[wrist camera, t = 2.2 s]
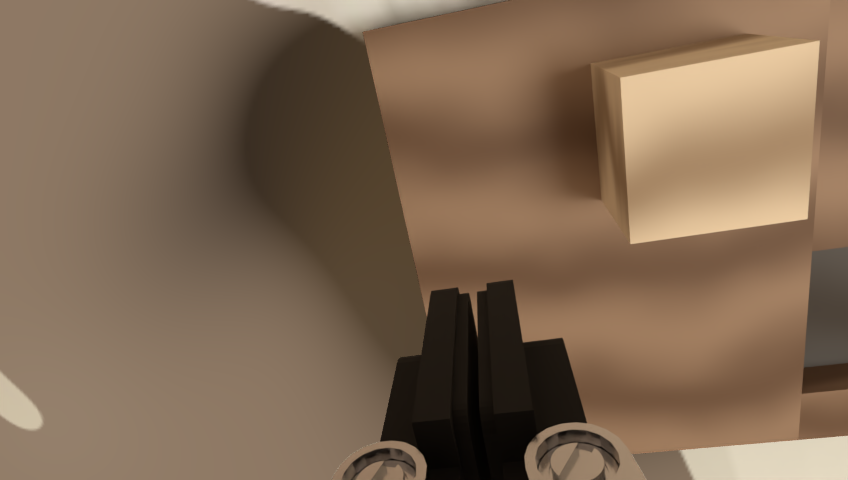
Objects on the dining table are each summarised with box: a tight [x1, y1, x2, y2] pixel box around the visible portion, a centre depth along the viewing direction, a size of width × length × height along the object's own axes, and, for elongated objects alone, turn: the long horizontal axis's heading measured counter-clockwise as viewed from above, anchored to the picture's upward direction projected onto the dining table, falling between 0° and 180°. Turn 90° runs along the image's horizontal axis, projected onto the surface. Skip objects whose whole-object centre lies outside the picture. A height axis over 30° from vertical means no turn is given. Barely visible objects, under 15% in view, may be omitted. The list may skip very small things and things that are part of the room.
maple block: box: [590, 34, 820, 244], centre depth 21 cm, size 6×6×5 cm
